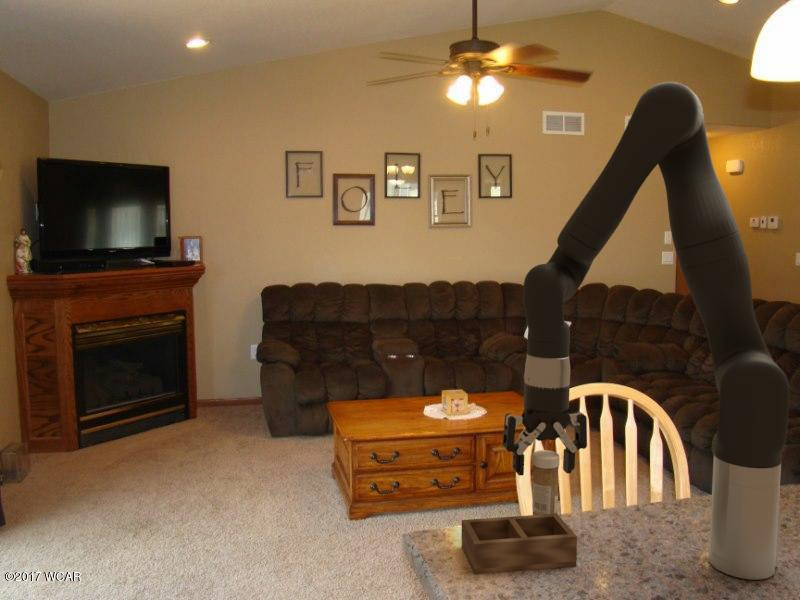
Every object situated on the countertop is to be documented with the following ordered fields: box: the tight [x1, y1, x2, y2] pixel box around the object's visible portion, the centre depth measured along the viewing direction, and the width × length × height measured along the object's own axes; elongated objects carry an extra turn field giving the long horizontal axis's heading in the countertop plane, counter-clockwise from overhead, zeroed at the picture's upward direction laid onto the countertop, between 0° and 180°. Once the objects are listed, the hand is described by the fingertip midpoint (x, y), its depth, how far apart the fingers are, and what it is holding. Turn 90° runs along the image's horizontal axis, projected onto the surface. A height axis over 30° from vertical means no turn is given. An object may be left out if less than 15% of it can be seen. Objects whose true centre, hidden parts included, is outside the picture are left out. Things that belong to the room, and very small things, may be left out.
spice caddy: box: [461, 513, 578, 575], centre depth 112 cm, size 16×9×5 cm, turn 98°
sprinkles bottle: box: [531, 449, 560, 515], centre depth 122 cm, size 5×5×14 cm
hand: (543, 472), depth 121 cm, fingers open, 8 cm apart
